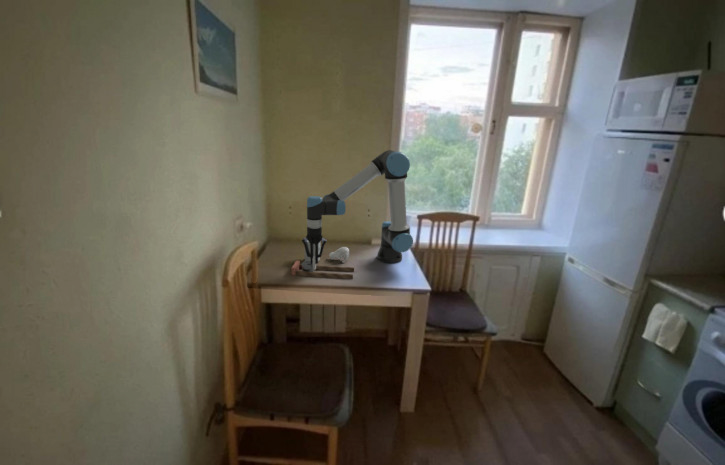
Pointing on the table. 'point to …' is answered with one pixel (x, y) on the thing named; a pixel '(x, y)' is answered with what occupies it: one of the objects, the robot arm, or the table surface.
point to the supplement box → (314, 251)
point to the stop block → (295, 267)
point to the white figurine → (340, 254)
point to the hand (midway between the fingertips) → (314, 268)
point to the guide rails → (321, 274)
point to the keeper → (307, 266)
